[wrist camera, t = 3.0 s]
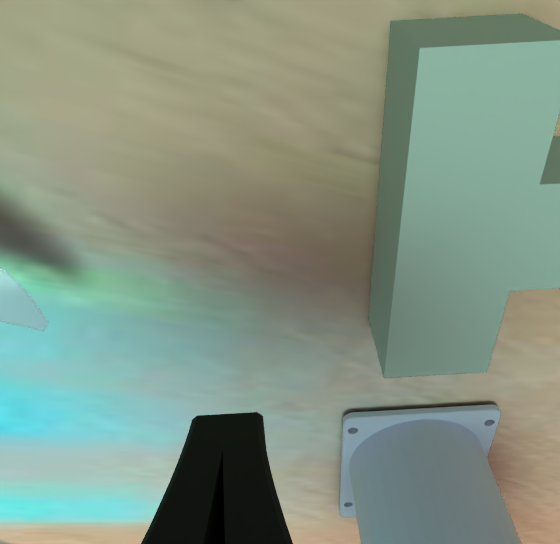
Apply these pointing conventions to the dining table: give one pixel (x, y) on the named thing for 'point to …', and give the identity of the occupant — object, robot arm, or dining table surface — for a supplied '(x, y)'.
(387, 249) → the t block
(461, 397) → the dining table surface
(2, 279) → the propeller
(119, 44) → the dining table surface
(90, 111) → the dining table surface
